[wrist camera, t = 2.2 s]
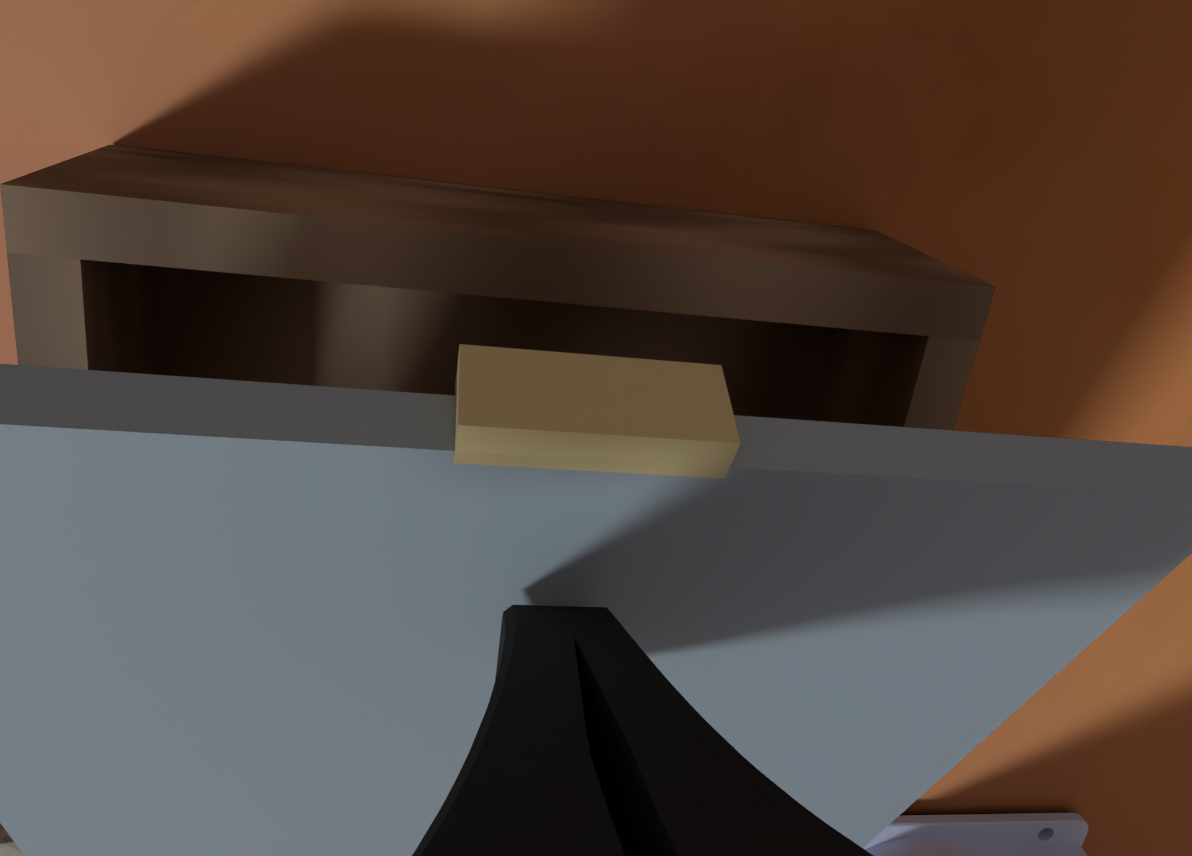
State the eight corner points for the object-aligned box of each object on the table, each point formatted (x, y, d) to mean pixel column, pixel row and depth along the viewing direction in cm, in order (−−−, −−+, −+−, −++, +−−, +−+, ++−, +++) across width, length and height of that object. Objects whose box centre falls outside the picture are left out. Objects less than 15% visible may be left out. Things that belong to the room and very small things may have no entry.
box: (876, 230, 21) (995, 287, 17) (769, 670, 26) (840, 809, 21) (109, 144, 18) (0, 184, 14) (138, 660, 23) (63, 820, 18)
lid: (1223, 405, 12) (1275, 477, 11) (849, 792, 21) (863, 847, 21) (-258, 285, 9) (-329, 375, 8) (52, 801, 18) (32, 866, 17)
